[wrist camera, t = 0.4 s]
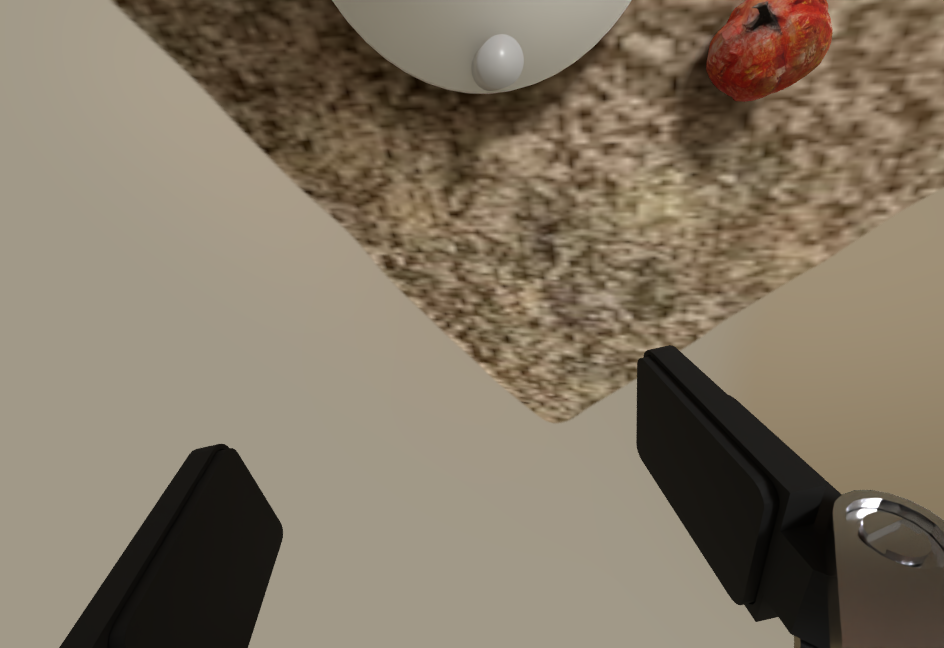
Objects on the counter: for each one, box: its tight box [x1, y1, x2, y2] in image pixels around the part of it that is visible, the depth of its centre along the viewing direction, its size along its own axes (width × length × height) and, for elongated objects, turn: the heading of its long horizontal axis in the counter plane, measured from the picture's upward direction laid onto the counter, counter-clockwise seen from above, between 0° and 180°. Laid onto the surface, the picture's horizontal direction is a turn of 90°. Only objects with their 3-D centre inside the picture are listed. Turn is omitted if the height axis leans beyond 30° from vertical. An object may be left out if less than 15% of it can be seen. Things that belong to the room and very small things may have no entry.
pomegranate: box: [706, 0, 832, 102], centre depth 31 cm, size 7×7×10 cm
